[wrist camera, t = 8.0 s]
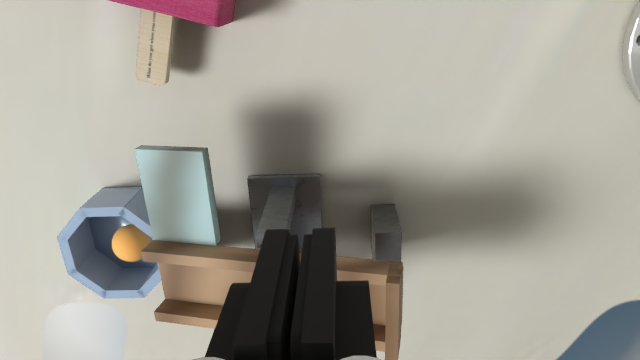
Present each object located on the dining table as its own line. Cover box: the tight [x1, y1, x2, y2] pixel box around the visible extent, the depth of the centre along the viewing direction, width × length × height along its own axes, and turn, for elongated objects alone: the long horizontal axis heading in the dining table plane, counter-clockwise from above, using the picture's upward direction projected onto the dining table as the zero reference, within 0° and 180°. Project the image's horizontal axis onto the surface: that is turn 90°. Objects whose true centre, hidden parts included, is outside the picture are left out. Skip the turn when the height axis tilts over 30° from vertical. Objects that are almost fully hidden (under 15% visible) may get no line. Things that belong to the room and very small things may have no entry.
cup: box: [57, 187, 161, 298], centre depth 41 cm, size 9×9×4 cm
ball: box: [112, 224, 152, 262], centre depth 40 cm, size 3×3×3 cm
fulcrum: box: [247, 174, 402, 262], centre depth 38 cm, size 19×10×9 cm, turn 93°
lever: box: [135, 145, 403, 360], centre depth 31 cm, size 18×13×3 cm
